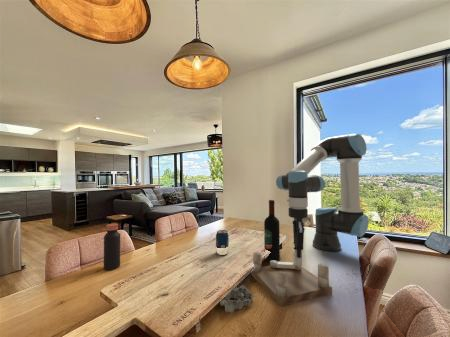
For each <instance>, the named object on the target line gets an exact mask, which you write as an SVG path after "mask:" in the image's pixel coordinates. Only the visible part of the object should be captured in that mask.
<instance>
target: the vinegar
mask: <svg viewBox="0 0 450 337" xmlns="http://www.w3.org/2000/svg"><path fill="white" fill-rule="evenodd" d="M105 226H106V227H105V228H106V229H105V230H106V234H104V235H103V236H104V237H103V270H104V269H105V271H114V270H117V269H118V268H120V266H121V233H120V232H118V230H119V223H117V222H115V223H114V222H113V223H108V224H106V225H105ZM116 268H117V269H116ZM113 269H114V270H113Z"/></svg>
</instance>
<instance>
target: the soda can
mask: <svg viewBox="0 0 450 337" xmlns="http://www.w3.org/2000/svg"><path fill="white" fill-rule="evenodd" d="M229 239H230V238H229V233H228V231H227V230H223V229H221V230H220V229H219V230H217V231H216V234H215V248H216V247H217V248H226V247H228V246H229V244H230V243H229V242H230V241H229Z"/></svg>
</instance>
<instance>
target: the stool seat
mask: <svg viewBox="0 0 450 337" xmlns="http://www.w3.org/2000/svg"><path fill="white" fill-rule="evenodd" d="M262 254H263V253H262V252H259V251H255V252H253V253H252V265H253V264H254V265H255V269H254V270H253V272H252V273H251V272H250V275H251V277H253V278H254V280H255V281H256V282H257V283H259V285H260V286H261V287H262V288H263V290H265V291H266V293H267V294H268V295H269V296H270V297H271V298H272V300H274V301H275V303H276V304H277V305H278V306H279V307H283V306H286V305H291V304H294V303H300V302H303V301H307V300H312V299H316V298H320V297H324V296H327V295H332V294H333V286H332V285H330V283H329V281H330V275H329V274H330V272H329V270H330V268H329V265H327V264H325V263H318V264H317V276H316V275H315V274H313V273H312V272H310V271H309V270H307V269H306V268H304V267H303V266H302V269H300V270H297V269H290V268H272V267H270V265H266V266H263V265H262V261H263V260H262V259H263V258H262V256H263V255H262ZM290 262H293V260H292V261H290Z"/></svg>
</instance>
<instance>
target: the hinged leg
mask: <svg viewBox="0 0 450 337" xmlns="http://www.w3.org/2000/svg"><path fill="white" fill-rule="evenodd" d="M269 266H270V267H272V268H290V269H297V270H300V269H302V267H303V264H302V265H295V249H293V250H292V262H291V261H278V262H277V261H275V260H271V261H270V262H269Z"/></svg>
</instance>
